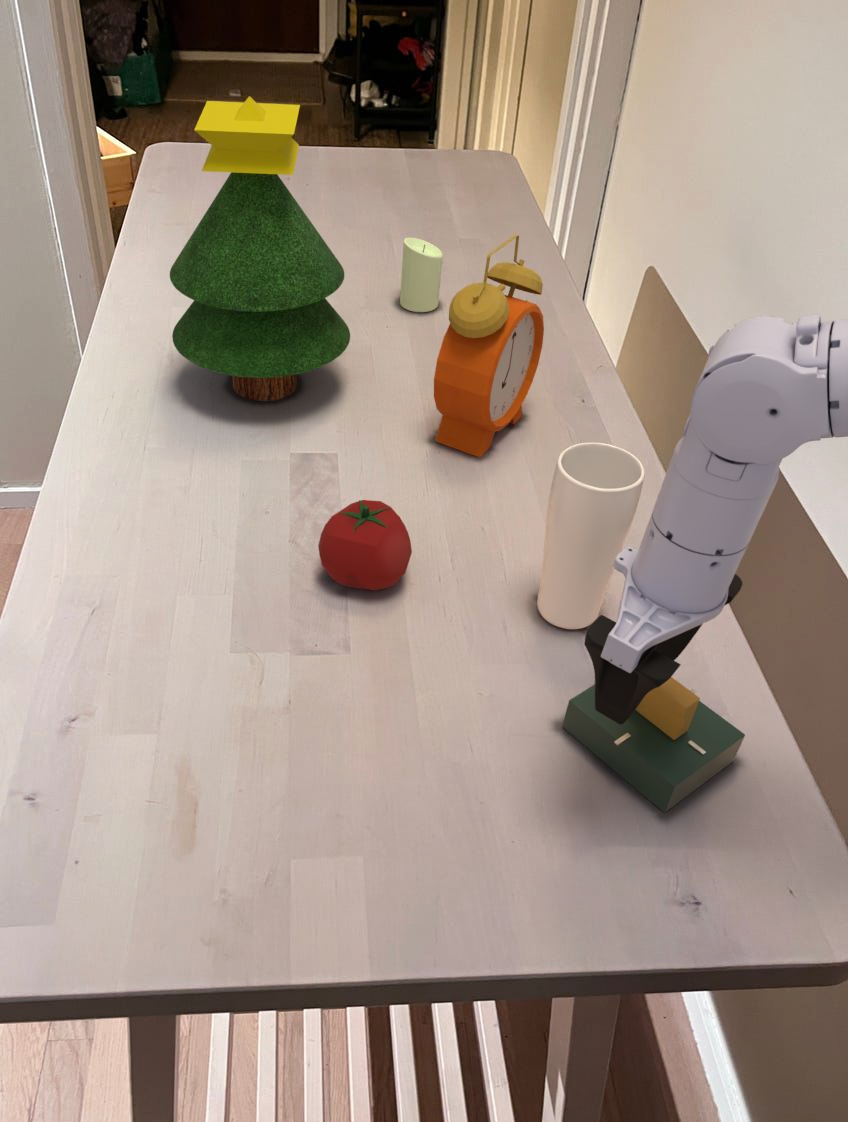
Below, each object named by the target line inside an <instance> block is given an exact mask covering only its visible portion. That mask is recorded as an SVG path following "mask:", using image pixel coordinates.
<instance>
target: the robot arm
mask: <svg viewBox="0 0 848 1122" xmlns="http://www.w3.org/2000/svg"><path fill="white" fill-rule="evenodd" d="M846 437H848V318H845V319H836V320H826V321H822V316H821V315H820V314H811V315H810V314H809V315H804V316H800V317H799V318H798V320H797V322H795V321H792V323H790V322H787V321H786V318H785V317H781V316H774V315H761V316H754V317H750V318H747V319H744V320H741V321H740V322H738V323H735V324H734V326H733V328H731V329H727V330H725V331H724V332H723V334H722V335H720V337H719V338H718V339H717V341H716V342H715V344H713V345H711V346H710V348H709V350H708V353H707V358H706V363H705V366H704V368H703V370H702V372H701V374H700V377H699V379H698V381H697V383H696V385H695V388H694V390H693V394H692V397H691V404H690V414H689V415H688V417H687V419H686V422H685V425H684V428H683V430H682V437H681V438H680V439H679V440H678V442H677V444H676V445H675V447H674V450H673V453H672V456H671V459H670V461H669V465H668V467H667V469H666V473H665V475H664V478H663V481H662V483H661V486H660V489H659V492H658V494H657V497H656V500H655V502H654V506H653V508H652V512H651V515H650V517H649V520H648V523H647V525H646V528H645V531H644V534H643V536H642V539H641V541H640V544H639V547H638V548H636V547H634V546H626V547H623V549H622V551H621V552H620V553H619V554H618V555H617V556H616V558H615V561H614V564H613V567H614V568H615V569H614V570H616V571H617V572H619V573H621V574H623V577H624V583H623V588H622V592H621V598H620V602H619V607H618V612H617V617H616V621H614V620H612V619H610V618H609V617H607V616H605V615H603V614H599V615H598V617H597V619H596V620H595V621H594V622H593V623H592V624H590V625H589V626H588V628H587V630H586V633H585V638H584V647H585V649H586V651H587V652H588V655H589V657H590V660H591V663H592V666H593V672H594V684H595V710H596V711H598V712H599V713H601V714H603V715H605V716H606V717H608V718H610V719H611V720H613V721H615V722H616V723H618V724H623V723H624V722H625V721H626V720H627V719H628V718H629V717H630V716H631V715H632V713H633V712H634V711H635V710H636V708H637V707H638V705H639V704H640V702H641V701H642V700H643V698H644V697H645V695H646V694H647V693H648V692H650V691H651V690H653V689H655V688H657V687H660V686H661V685H662V684H664V683H665V682H666V681H667V680H669V679H670V678H671V677H673V675H674V674H675V673H676V672H677V670H678V669H679V668H680V667H681V663H679V662H677V661H676V659H678V657H679V656H680V655H681V654H682V653H683V652H684V650H685V649H686V648H687V647H688V645H689V644H690V643H691V641H692V640H693V638H694V637H695V635H696V634H697V633H698V631H699V630H700V628H701V627H703V625H704V624H705V623H707V622H710V621H711V620H714V619H715V618H716V617H718V616H719V615H720V614H721V612H722V611H723V610H724V607H725V606H726V605H728V604H730V603H732V602H733V600H734V599H735V598H736V597H737V595H738V594H739V592H740V591H741V589H742V587H743V580H742V579H741V577H740V576H739V575H738V574H736V573H737V571H738V568H739V566H740V564H741V562H742V559H743V558H744V556H745V554H746V552H747V549H748V547H749V544H750V542H751V540H752V538H753V535H754V533H755V531H756V529H757V527H758V524H759V523H760V520H761V518H762V516H763V513H764V512H765V509H766V507H767V505H768V503H769V500H770V498H771V496H772V494H773V492H774V490H775V487H776V485H777V484H778V481H779V477H780V466H781V463H782V461H783V459H785V458H787V457H789V456H790V455H791V454H792V453H794V452H795V451H797V450H798V449H799V447H801V446H802V445H804V444H807V443H809V442H817V441H821V439H833V438H846Z"/></svg>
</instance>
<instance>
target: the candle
mask: <svg viewBox="0 0 848 1122" xmlns="http://www.w3.org/2000/svg"><path fill="white" fill-rule="evenodd" d="M443 257H444V255H443V251H442V250H440V248H438V247H437V246H436V245H434V244H432V243H430V242H429V241H426V240H423V239H420V238H417V237H405V238H404V239H403V248H402V260H401V261H402V263H401V276H400V277H401V278H400V292H399V293H400V295H399V304H400V307H402V308H403V309H404V310H407V311H408V312H409V311H410V312H411V313H413V312H414V313H429V312H432V311H434V310H436V309H437V308H438V306H439V300H440V289H441V281H442V280H441V279H442V269H443V260H444V259H443Z"/></svg>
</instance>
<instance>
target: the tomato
mask: <svg viewBox="0 0 848 1122" xmlns="http://www.w3.org/2000/svg"><path fill="white" fill-rule="evenodd" d="M411 543H412V542H411V538H410V535H409V531H408V529H407V526H406V525H405V523H404V521H403V520H402V518H401V517H400V515H399V514H397V512H396V511H395V510H394V509H393V507H392V506H390V505H388V504H387V503H385V502H383V501H382V500H372V499H371V500H370V499H359V500H358V501H355V502H352V503H349V504H348V505H347V506H346V507H343V509H341V510H339V511H338V512H335V514H333V515H332V516H331V517H329V519H328V521H327V522H326V523H325V524H324V526H323V528H322V531H321V533H320V537H319V541H318V545H317V546H318V555H319V559H320V562H321V567H322V568H323V569H324V570H325V571H326V572H327V574H328V575H329V576H330V578H331V579H332V580H333V581H335V582H336V583H338V584H340V585H342V586H344V587H349V588H356V589H363V590H368V591H369V590H371V591H378V590H383V589H384V590H385V589H387V588H390V587H392V586H394V585H395V584H396V583H397V582H398V581H399V580H400V579H401V578H403V576H404V575H405V574H406V572H407V570H408V567H409V563H410V559H411V557H412V554H413V552H412V551H413V550H412V544H411Z"/></svg>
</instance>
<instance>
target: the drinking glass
mask: <svg viewBox="0 0 848 1122" xmlns="http://www.w3.org/2000/svg"><path fill="white" fill-rule="evenodd" d="M644 467H645V466H644V465H643V463H642V462H641V460H640V459H639V458H638V457H636V456H635V455H634V454H632V453H631V452H629V450H626V449H624V448H622V447H619V446H616V445H613V444H608V443H603V442H581V443H577V444H572V445H570V446H569V447H567V448H565V449H564V450H563V451H562V452H561V453H560V454H559V456H558V457H557V461H556V464H555V468H554V473H553V476H552V481H551V486H550V491H549V496H548V504H547V511H546V520H545V521H546V522H545V531H544V543H543V554H542V564H541V566H542V567H541V574H540V584H539V588H538V589H539V590H538V594H537V598H536V599H537V600H536V602H537V603H536V604H537V605H536V606H537V611H538V612H539V614H540V615H541V617H542V618H543V619H544V620H545V621H546V622H548V623H549V624H551V625H553V626H555V627H558V628H561V629H566V630H579V629H584V628H587V627H590V626H591V625H592V624H593V622H594V621H595V620H596V619H597V618H598V617H599V616H600V612H601V608H602V604H603V602H604V598H605V595H606V594H607V590H608V588H609V584H610V582H611V580H612V577H613V574H614V572H615V570H616V569H615V568H614V567H613V564H614V561H615V558H616V556H617V555H618V554H619V553H620V552H621V551H622V550H623V549H624V546H625V544H626V541H627V539H628V536H629V532H630V530H631V528H632V525H633V523H634V520H635V516H636V513H637V509H638V505H639V503H640V499H641V494H642V490H643V485H644V480H645V474H646V473H645V472H646V471H645V468H644Z"/></svg>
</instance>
